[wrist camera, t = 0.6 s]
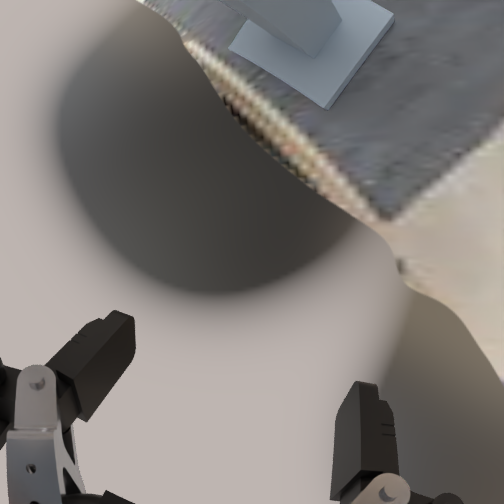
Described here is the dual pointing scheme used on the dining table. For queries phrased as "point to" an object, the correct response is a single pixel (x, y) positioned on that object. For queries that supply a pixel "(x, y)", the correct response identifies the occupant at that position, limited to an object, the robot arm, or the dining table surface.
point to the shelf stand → (310, 41)
